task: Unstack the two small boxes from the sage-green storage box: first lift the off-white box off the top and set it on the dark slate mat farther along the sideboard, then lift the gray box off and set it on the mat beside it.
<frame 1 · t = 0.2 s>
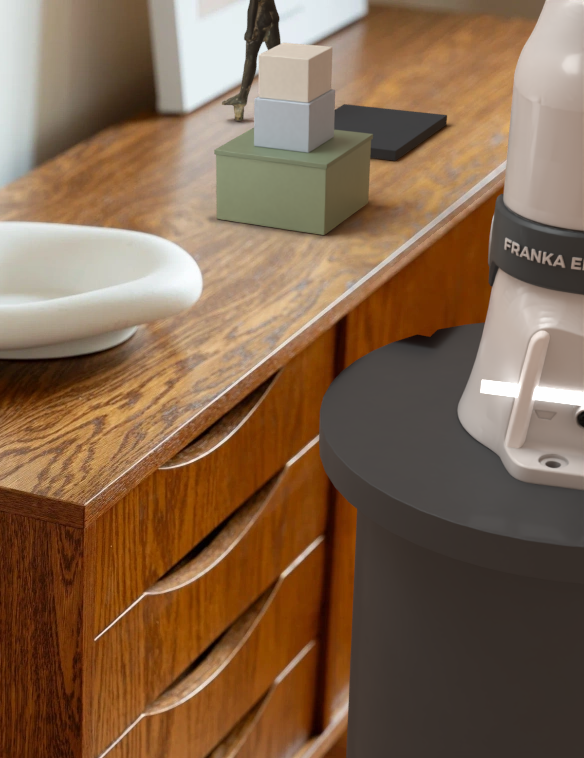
white box: (295, 93, 123), point 10 cm above the table, touching gray box
statue: (253, 121, 153), on the table
gray box: (294, 141, 125), point 6 cm above the table, touching storage box, white box
storage box: (292, 211, 128), on the table, touching gray box
mat: (368, 136, 146), on the table
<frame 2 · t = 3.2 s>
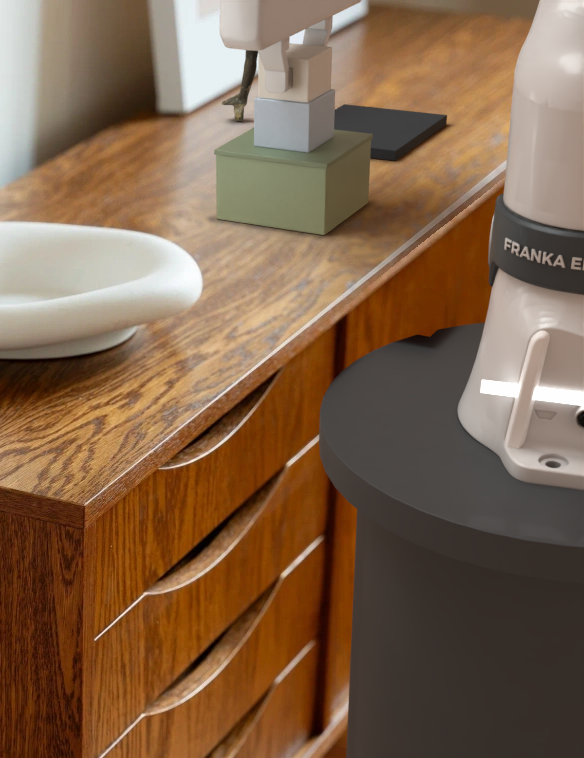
hand: (295, 82, 122), 11 cm above the table, tool pointing down, fingers closed on white box, 4 cm apart
white box: (294, 93, 123), point 10 cm above the table, touching gray box, gripper
everything else where it was.
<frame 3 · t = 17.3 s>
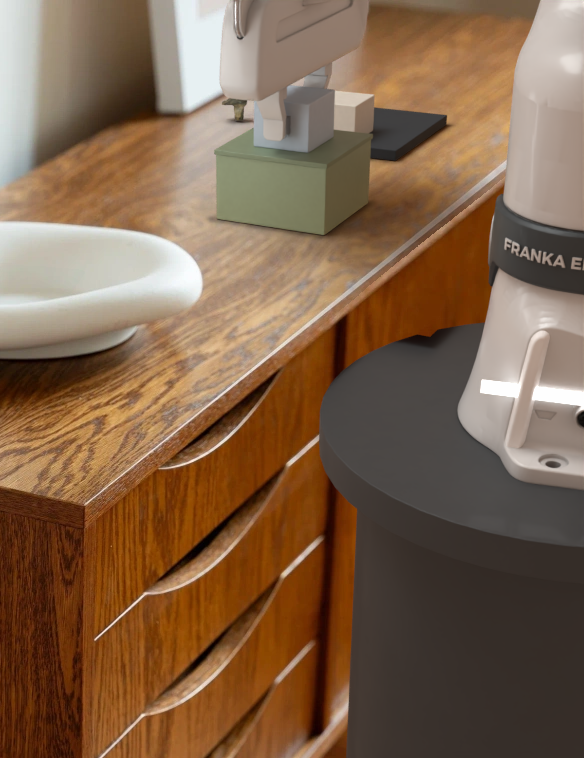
hand: (294, 128, 124), 7 cm above the table, tool pointing down, fingers closed on gray box, 5 cm apart
white box: (342, 134, 143), point 1 cm above the table, touching mat
gray box: (293, 141, 125), point 6 cm above the table, touching gripper, storage box
everything else where it was.
when the fingers open (2 cm above the table, at t = 25.6 s): gray box stays where it is, resting on mat.
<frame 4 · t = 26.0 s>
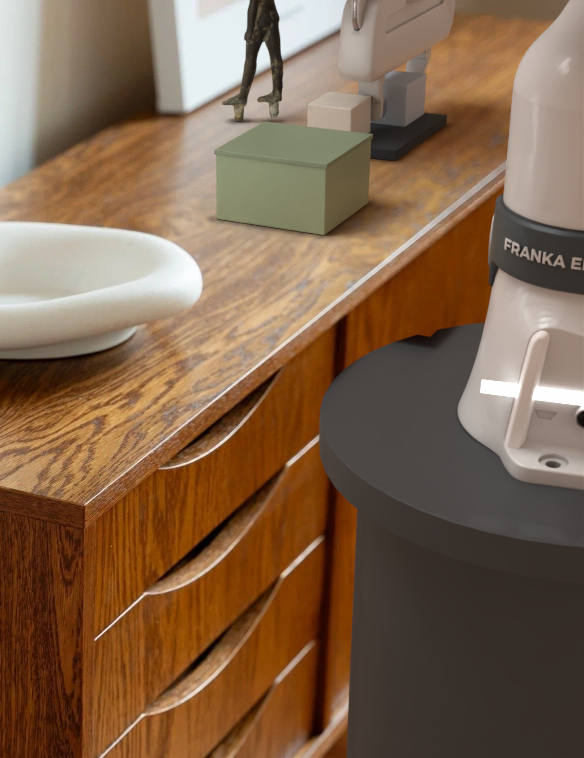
hand: (393, 106, 147), 2 cm above the table, tool pointing down, fingers open, 8 cm apart
white box: (338, 136, 143), point 1 cm above the table, touching gripper, mat
gray box: (390, 118, 147), point 1 cm above the table, touching mat
storage box: (292, 211, 128), on the table
everything else where it was.
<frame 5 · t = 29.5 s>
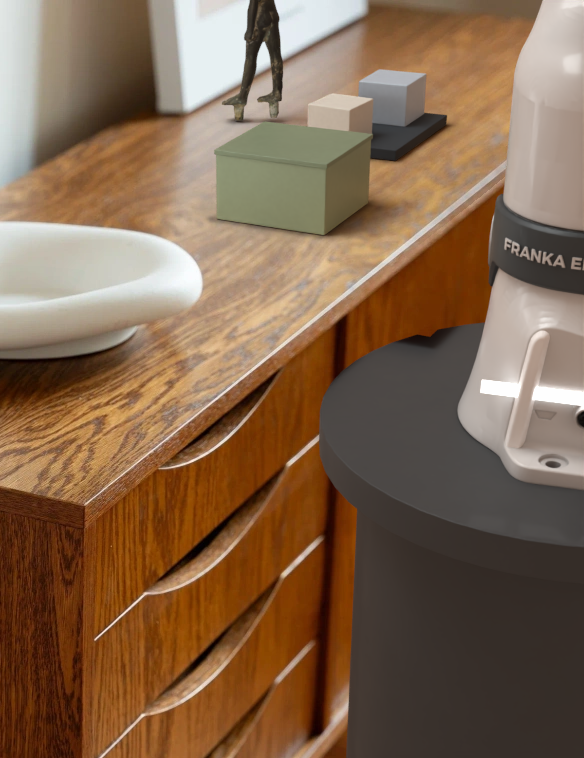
white box: (339, 137, 142), point 1 cm above the table, touching mat
everything else where it was.
at the end: white box 1.2 cm from the target spot on the mat, point 1.0 cm above the mat's base; gray box 0.4 cm from the target spot on the mat, point 1.0 cm above the mat's base; storage box moved 0.0 cm from its start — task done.
